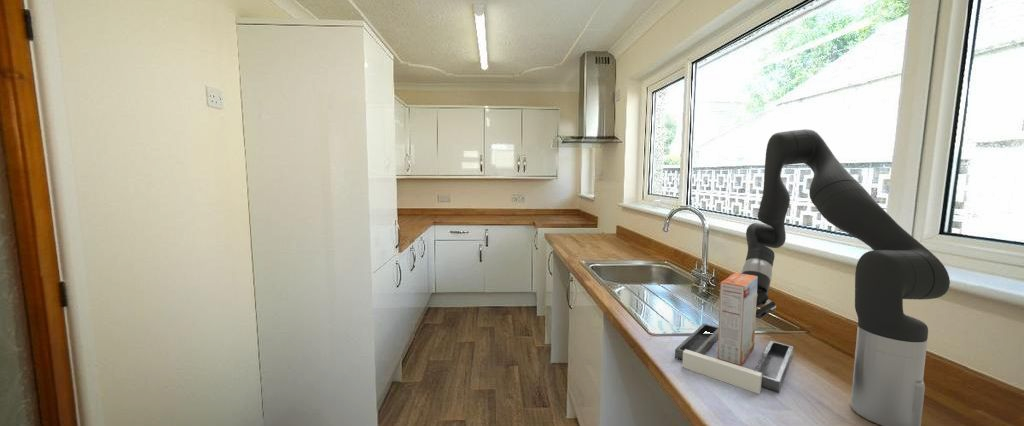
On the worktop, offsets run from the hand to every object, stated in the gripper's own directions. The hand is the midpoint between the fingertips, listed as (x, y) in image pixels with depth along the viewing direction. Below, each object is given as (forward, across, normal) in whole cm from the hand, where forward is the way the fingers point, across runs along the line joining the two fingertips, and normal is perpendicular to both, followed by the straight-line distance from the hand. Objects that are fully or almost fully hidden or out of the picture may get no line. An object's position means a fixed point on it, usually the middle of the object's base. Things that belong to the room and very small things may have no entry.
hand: (743, 327), depth 100 cm
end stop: (+21, 0, -13) cm, 25 cm away
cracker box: (+9, 0, -2) cm, 9 cm away
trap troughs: (+10, 0, -3) cm, 11 cm away
